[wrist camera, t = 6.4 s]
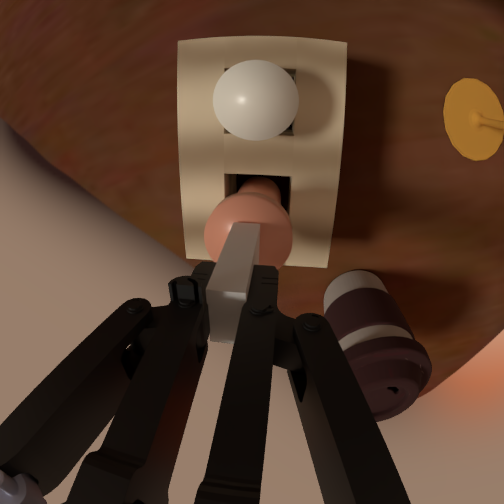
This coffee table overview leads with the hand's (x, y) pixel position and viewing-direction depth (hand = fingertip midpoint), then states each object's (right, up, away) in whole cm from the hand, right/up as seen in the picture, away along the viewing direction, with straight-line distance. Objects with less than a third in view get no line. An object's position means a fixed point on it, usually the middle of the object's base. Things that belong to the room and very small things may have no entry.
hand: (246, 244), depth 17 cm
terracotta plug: (+1, +4, +7) cm, 9 cm away
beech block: (+1, +9, +9) cm, 13 cm away
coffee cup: (+12, -5, +16) cm, 20 cm away
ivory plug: (+1, +13, +6) cm, 14 cm away
